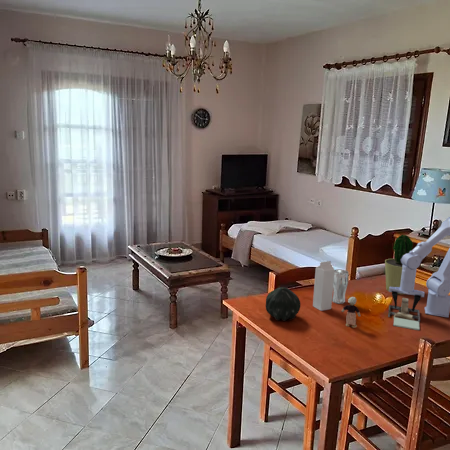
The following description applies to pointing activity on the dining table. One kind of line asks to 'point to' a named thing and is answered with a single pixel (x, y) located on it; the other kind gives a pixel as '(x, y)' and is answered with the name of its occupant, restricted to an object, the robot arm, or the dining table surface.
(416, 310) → the metal rack
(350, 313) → the grandmother figurine
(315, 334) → the dining table surface
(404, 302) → the tall beige block
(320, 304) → the milk
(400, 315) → the offcut stack
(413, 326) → the sage mat
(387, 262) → the potted cactus
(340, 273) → the beer glass
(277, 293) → the squash
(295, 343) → the dining table surface
